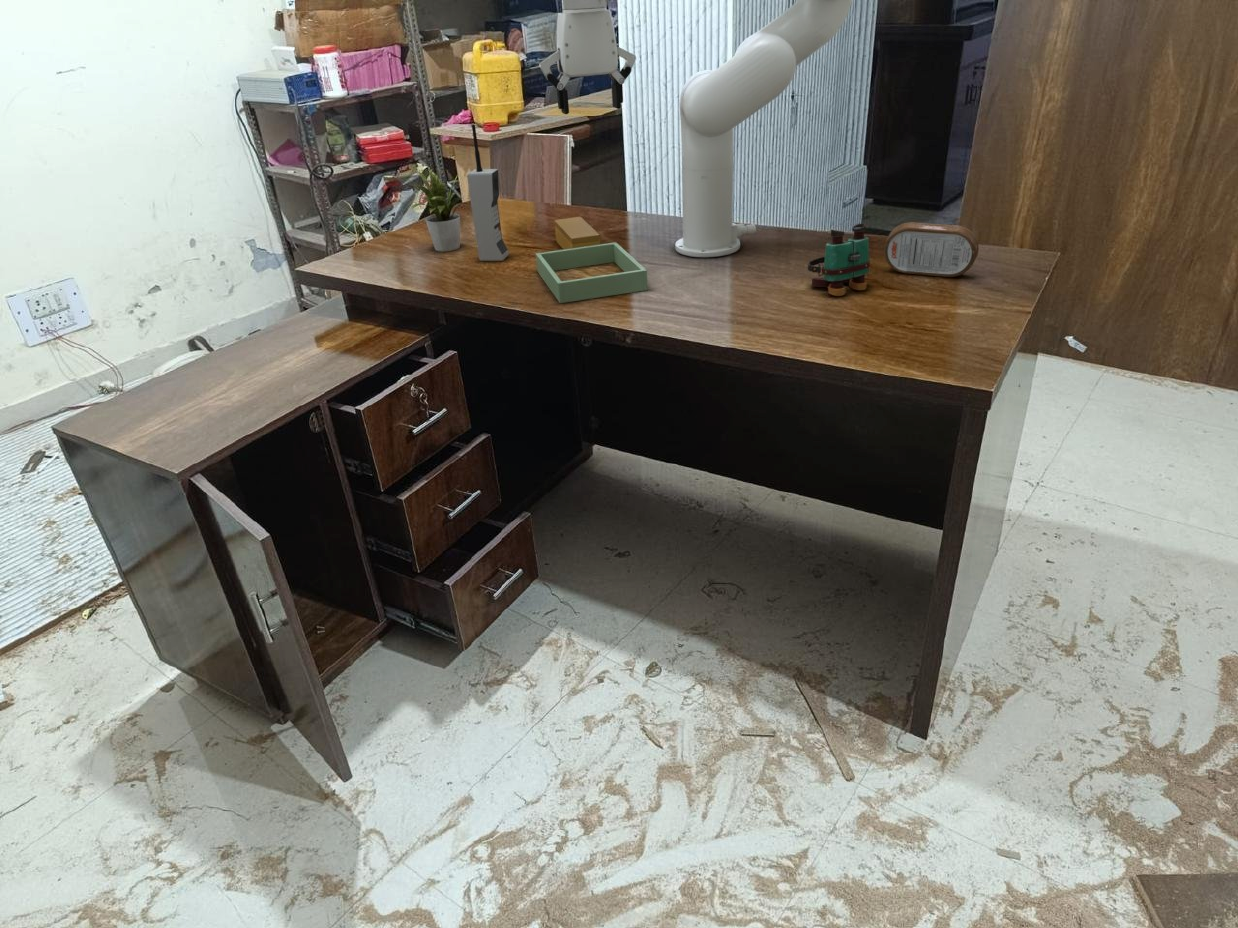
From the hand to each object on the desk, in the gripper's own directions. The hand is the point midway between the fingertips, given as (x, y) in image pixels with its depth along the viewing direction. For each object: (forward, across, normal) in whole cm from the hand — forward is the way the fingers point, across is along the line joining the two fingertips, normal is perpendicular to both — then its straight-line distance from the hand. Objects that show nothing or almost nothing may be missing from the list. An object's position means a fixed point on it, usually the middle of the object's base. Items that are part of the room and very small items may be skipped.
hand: (591, 110), depth 151 cm
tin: (+26, -48, +37) cm, 66 cm away
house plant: (+26, +29, -20) cm, 44 cm away
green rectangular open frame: (+26, +6, +14) cm, 31 cm away
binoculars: (+26, -31, +36) cm, 54 cm away
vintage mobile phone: (+26, +20, -7) cm, 34 cm away
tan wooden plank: (+26, +3, -6) cm, 27 cm away
